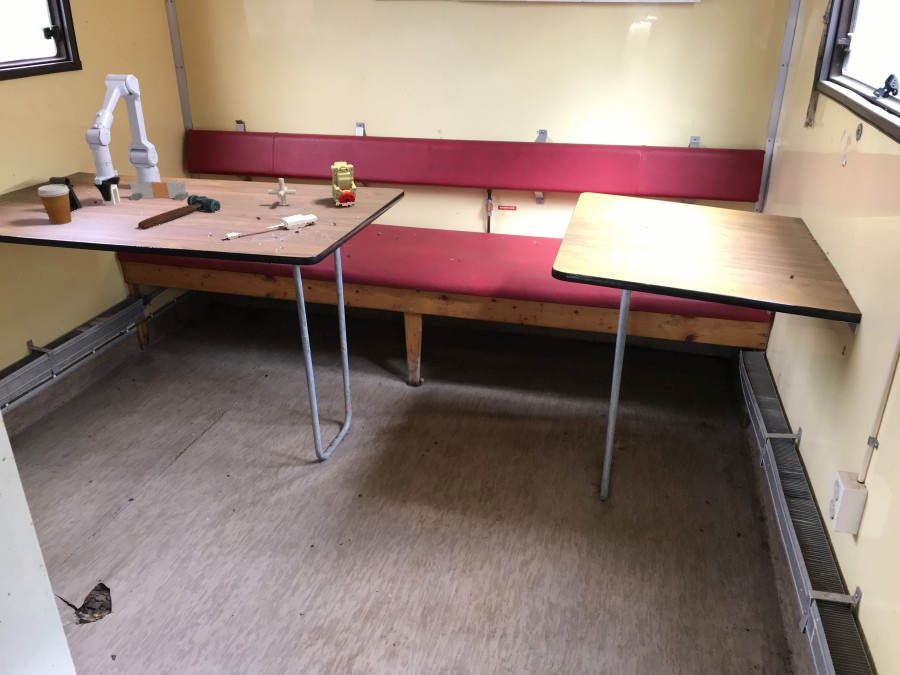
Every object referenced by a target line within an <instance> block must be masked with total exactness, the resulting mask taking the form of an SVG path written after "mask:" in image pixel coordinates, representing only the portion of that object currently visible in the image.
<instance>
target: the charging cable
mask: <svg viewBox="0 0 900 675" xmlns="http://www.w3.org/2000/svg"><path fill="white" fill-rule="evenodd" d="M316 220H318V216H315V215H314V214H307V215H302V214H295V215H291V216H287V217H282V218H281V223H280V224H277V225H273V226H269V227H267V228H273V227H277V228H279V227H278V226H286V225H287V226H292V225H297V224H302V223H307V222H311V221H316ZM273 229H274V228H273ZM238 234H240V233H239V232H229V233H226V234H225V236H226V235H227V236H228V237H231V236H236V235H238Z"/></svg>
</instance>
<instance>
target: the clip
mask: <svg viewBox="0 0 900 675" xmlns="http://www.w3.org/2000/svg"><path fill="white" fill-rule="evenodd" d="M101 198H102V203H103V206H115V204H116V203H120V202H121V199H120V198H121V197H120V193H119V187H118V188H117V185H112V184H111V201H105V200H104V199H103V197H102V196H101ZM116 205H117V204H116Z"/></svg>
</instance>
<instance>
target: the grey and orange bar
mask: <svg viewBox="0 0 900 675" xmlns="http://www.w3.org/2000/svg"><path fill="white" fill-rule="evenodd" d="M129 185H130V188H131V189H130V191H131V195H130V200H131V201H140V199H153V198H175V199H174V200H175V201H184V200H185V199H187V198H188V197H189V191H187V190H186V185H185V181H161V182H138V181H131V182H130V183H129ZM186 197H187V198H186Z"/></svg>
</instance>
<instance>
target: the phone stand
mask: <svg viewBox="0 0 900 675" xmlns="http://www.w3.org/2000/svg"><path fill="white" fill-rule="evenodd" d="M48 181H49V185H54V184H63V185H66V186H67V188H68V189H69V203H70V212H71V213H73V212H75V211H74V210H76V211H78V210H80V209H82V208H83V205H82V203H81V202H80V200H79V198H78V196H77V194H76V192H75V191H74V188H73V186H72V184H71V179H70V178H69V177H61V176H52V177H49V180H48ZM77 209H78V210H77ZM72 211H73V212H72Z"/></svg>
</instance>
